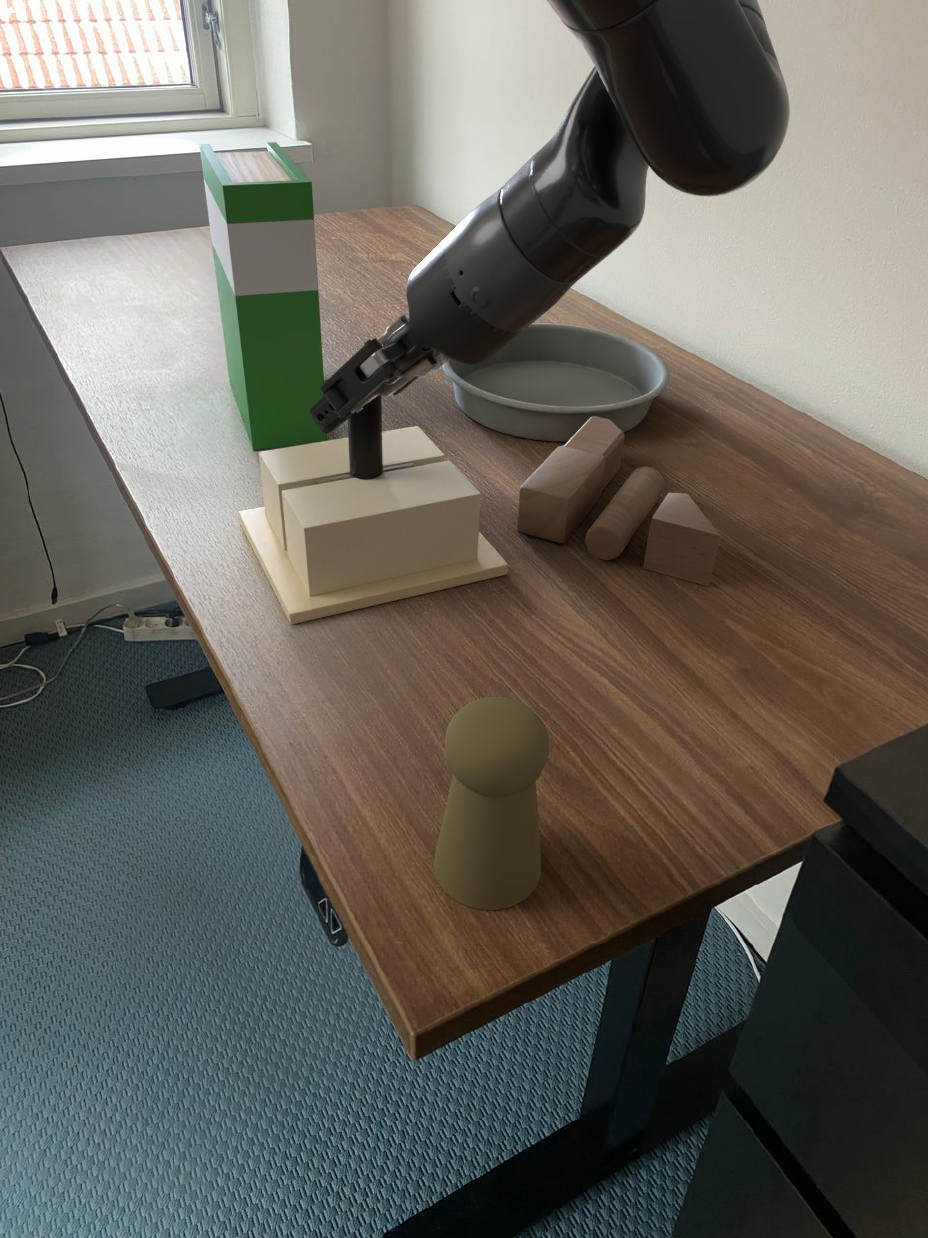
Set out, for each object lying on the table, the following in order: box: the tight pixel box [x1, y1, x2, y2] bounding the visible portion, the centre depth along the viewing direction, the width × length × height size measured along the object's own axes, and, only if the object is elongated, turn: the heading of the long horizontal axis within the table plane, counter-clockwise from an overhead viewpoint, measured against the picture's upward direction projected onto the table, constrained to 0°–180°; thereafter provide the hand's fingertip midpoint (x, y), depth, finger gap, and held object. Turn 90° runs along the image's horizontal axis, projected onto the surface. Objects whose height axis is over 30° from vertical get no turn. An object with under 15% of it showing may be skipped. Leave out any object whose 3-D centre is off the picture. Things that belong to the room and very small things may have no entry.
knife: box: [317, 395, 414, 484], centre depth 72 cm, size 8×3×14 cm, turn 115°
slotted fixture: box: [237, 425, 509, 625], centre depth 75 cm, size 18×16×7 cm
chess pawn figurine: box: [432, 696, 550, 911], centre depth 48 cm, size 6×6×11 cm
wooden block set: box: [516, 416, 721, 587], centre depth 81 cm, size 17×6×18 cm
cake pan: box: [441, 322, 671, 443], centre depth 101 cm, size 25×25×4 cm
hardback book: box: [199, 141, 329, 451], centre depth 91 cm, size 18×7×24 cm, turn 19°
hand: (354, 402), depth 70 cm, fingers open, 8 cm apart
